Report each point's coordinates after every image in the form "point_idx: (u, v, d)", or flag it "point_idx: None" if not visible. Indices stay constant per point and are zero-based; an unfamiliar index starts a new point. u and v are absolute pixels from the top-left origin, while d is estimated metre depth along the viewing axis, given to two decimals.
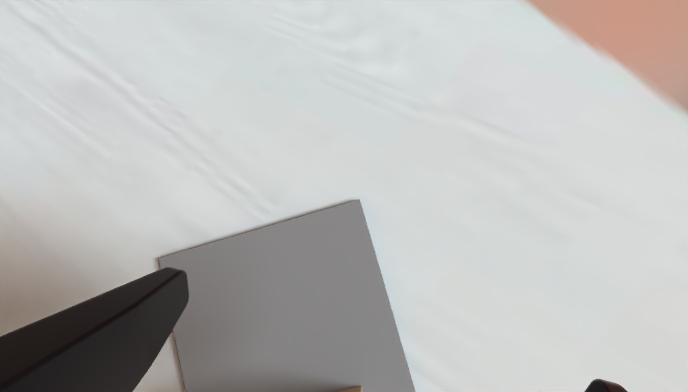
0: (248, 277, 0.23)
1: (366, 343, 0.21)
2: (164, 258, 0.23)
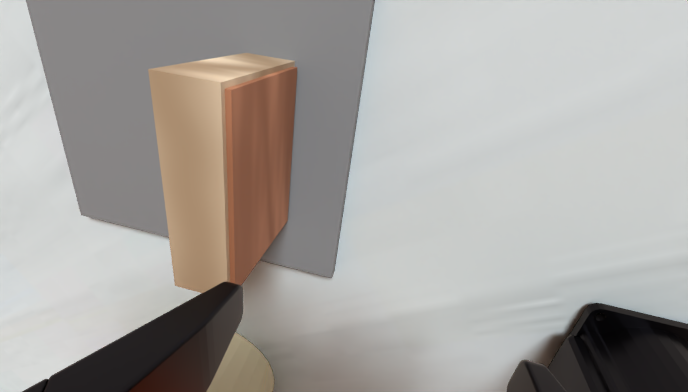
0: (104, 134, 0.19)
1: (196, 19, 0.15)
2: (81, 209, 0.21)
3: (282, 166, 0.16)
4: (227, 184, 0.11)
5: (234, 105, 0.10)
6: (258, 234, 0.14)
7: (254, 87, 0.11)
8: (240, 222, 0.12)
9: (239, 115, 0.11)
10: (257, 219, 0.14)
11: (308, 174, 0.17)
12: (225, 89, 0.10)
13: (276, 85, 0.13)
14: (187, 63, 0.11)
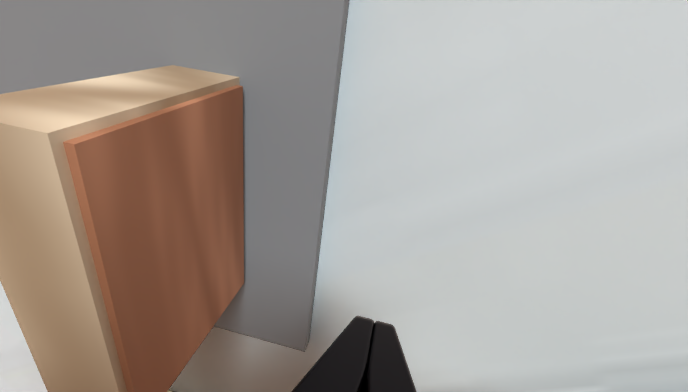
0: None
1: (101, 18, 0.11)
2: None
3: (226, 222, 0.11)
4: (100, 287, 0.07)
5: (88, 169, 0.06)
6: (184, 326, 0.10)
7: (144, 129, 0.07)
8: (139, 331, 0.08)
9: (108, 180, 0.06)
10: (180, 309, 0.10)
11: (267, 227, 0.13)
12: (65, 142, 0.05)
13: (200, 118, 0.09)
14: (36, 89, 0.07)
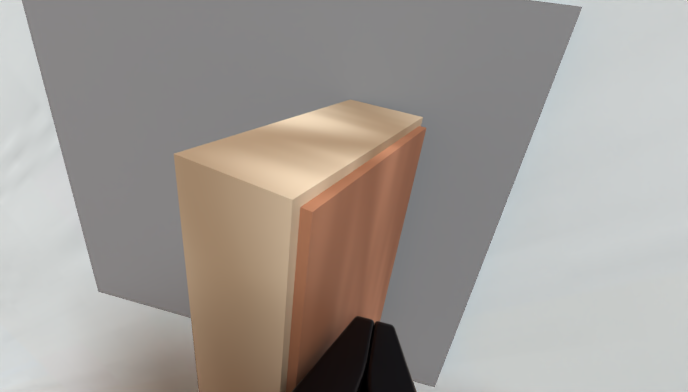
0: (132, 199, 0.14)
1: (278, 51, 0.10)
2: (99, 285, 0.17)
3: (382, 271, 0.10)
4: (288, 353, 0.06)
5: (315, 236, 0.05)
6: None
7: (358, 185, 0.06)
8: None
9: (324, 245, 0.06)
10: None
11: (422, 263, 0.12)
12: (301, 206, 0.05)
13: (394, 166, 0.08)
14: (252, 131, 0.07)
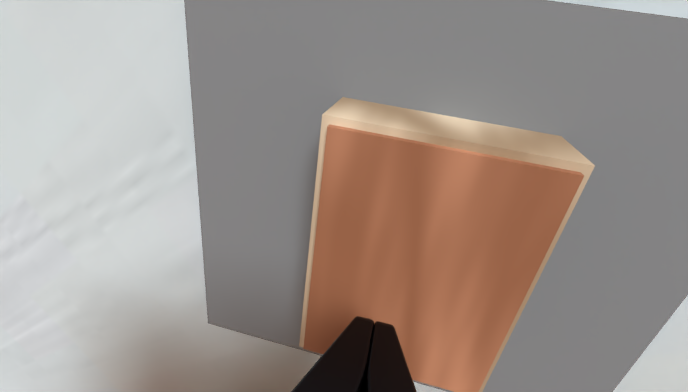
0: (271, 232, 0.13)
1: (487, 84, 0.09)
2: (210, 317, 0.16)
3: (470, 304, 0.09)
4: (317, 229, 0.10)
5: (331, 146, 0.08)
6: None
7: (389, 145, 0.08)
8: (326, 285, 0.10)
9: (343, 164, 0.08)
10: (369, 314, 0.10)
11: (603, 306, 0.11)
12: (330, 124, 0.08)
13: (470, 171, 0.08)
14: (399, 107, 0.10)
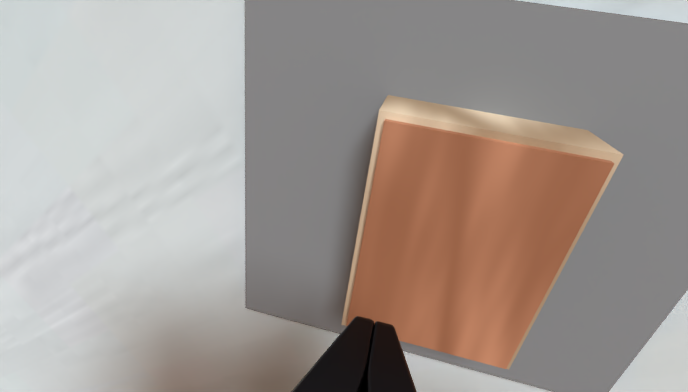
0: (312, 220, 0.14)
1: (521, 83, 0.10)
2: (248, 302, 0.17)
3: (505, 281, 0.10)
4: (367, 214, 0.11)
5: (386, 138, 0.09)
6: (408, 310, 0.12)
7: (440, 137, 0.09)
8: (372, 265, 0.11)
9: (396, 154, 0.09)
10: (411, 293, 0.11)
11: (621, 286, 0.12)
12: (386, 119, 0.09)
13: (512, 160, 0.09)
14: (440, 104, 0.11)
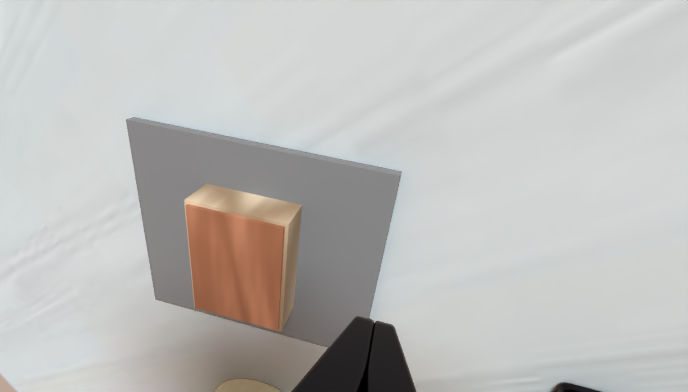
0: (183, 247, 0.24)
1: (266, 181, 0.20)
2: (156, 295, 0.27)
3: (261, 282, 0.20)
4: (191, 248, 0.21)
5: (188, 213, 0.19)
6: (222, 298, 0.22)
7: (211, 214, 0.19)
8: (199, 274, 0.21)
9: (195, 220, 0.19)
10: (221, 289, 0.21)
11: (345, 285, 0.22)
12: (188, 204, 0.19)
13: (243, 225, 0.19)
14: (231, 190, 0.21)
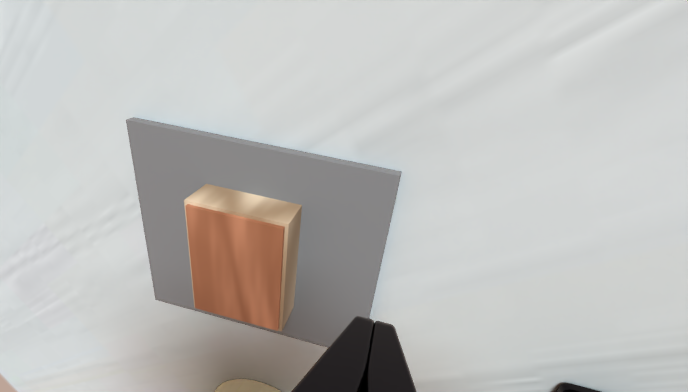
0: (183, 247, 0.24)
1: (266, 181, 0.20)
2: (156, 295, 0.27)
3: (260, 282, 0.20)
4: (191, 248, 0.21)
5: (188, 213, 0.19)
6: (222, 298, 0.22)
7: (211, 214, 0.19)
8: (199, 274, 0.21)
9: (195, 220, 0.19)
10: (221, 289, 0.21)
11: (345, 285, 0.22)
12: (188, 204, 0.19)
13: (243, 225, 0.19)
14: (231, 190, 0.21)
